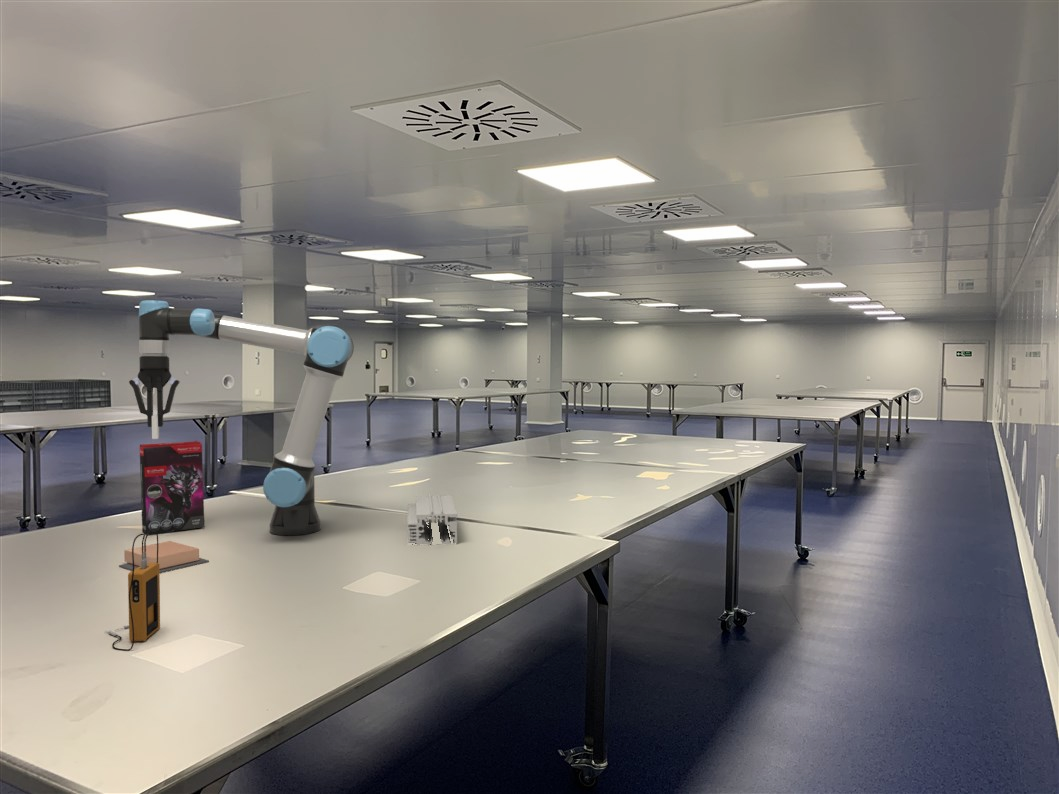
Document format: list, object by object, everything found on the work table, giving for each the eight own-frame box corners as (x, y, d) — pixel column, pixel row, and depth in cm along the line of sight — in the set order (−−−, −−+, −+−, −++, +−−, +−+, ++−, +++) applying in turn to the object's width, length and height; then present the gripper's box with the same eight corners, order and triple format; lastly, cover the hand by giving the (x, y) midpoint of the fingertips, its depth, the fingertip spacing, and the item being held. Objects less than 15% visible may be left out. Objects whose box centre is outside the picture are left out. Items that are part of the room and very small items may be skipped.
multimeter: (116, 623, 145) (114, 523, 144) (168, 622, 145) (167, 523, 145) (76, 652, 130) (74, 541, 129) (135, 650, 131) (133, 540, 130)
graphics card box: (144, 536, 218) (143, 445, 217) (139, 532, 223) (138, 443, 222) (205, 528, 229) (204, 442, 228) (198, 524, 234) (197, 440, 233)
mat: (118, 566, 185) (118, 565, 185) (179, 553, 198) (179, 552, 198) (147, 576, 177) (147, 574, 177) (209, 561, 190) (209, 560, 190)
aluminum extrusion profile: (407, 546, 209) (407, 512, 209) (408, 524, 239) (408, 493, 239) (457, 545, 211) (457, 511, 211) (451, 522, 241) (451, 492, 241)
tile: (124, 549, 187) (153, 558, 179) (169, 540, 197) (199, 548, 189) (124, 562, 187) (153, 571, 179) (169, 553, 197) (199, 561, 189)
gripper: (181, 355, 212) (182, 436, 213) (130, 355, 208) (132, 437, 209) (178, 355, 205) (179, 439, 206) (126, 355, 201) (127, 440, 202)
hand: (155, 438), depth 207 cm, fingers closed
